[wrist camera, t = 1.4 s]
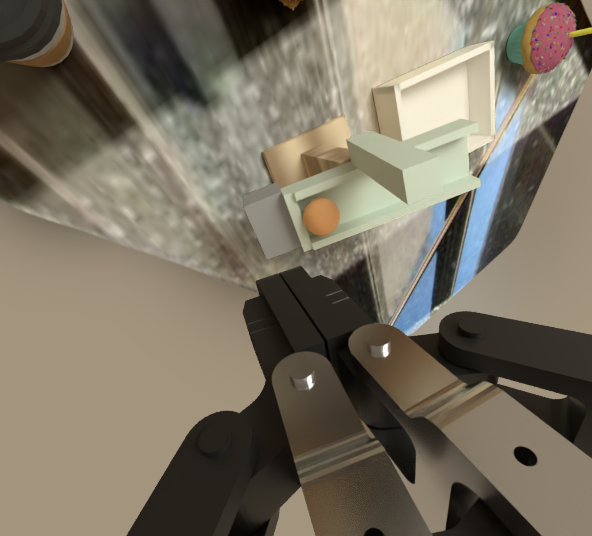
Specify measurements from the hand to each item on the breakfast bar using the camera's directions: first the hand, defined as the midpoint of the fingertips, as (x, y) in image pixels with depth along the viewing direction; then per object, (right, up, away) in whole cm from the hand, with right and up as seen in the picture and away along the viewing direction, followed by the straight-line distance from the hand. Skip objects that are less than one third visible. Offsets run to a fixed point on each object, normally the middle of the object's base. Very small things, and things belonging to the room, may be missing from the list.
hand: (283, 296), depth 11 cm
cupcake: (+34, +35, +40) cm, 63 cm away
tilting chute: (+6, +11, +26) cm, 28 cm away
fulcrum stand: (+3, +14, +34) cm, 37 cm away
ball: (+3, +6, +22) cm, 23 cm away
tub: (+20, +23, +38) cm, 49 cm away
